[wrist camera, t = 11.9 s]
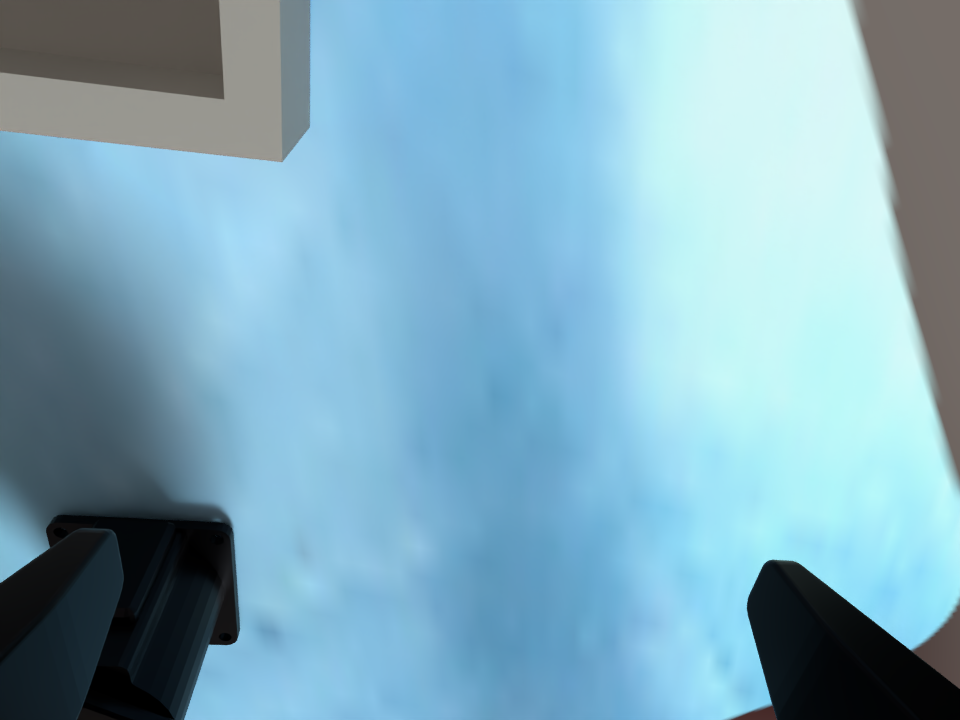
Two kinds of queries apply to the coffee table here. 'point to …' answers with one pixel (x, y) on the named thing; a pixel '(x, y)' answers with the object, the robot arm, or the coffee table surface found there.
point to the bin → (159, 73)
